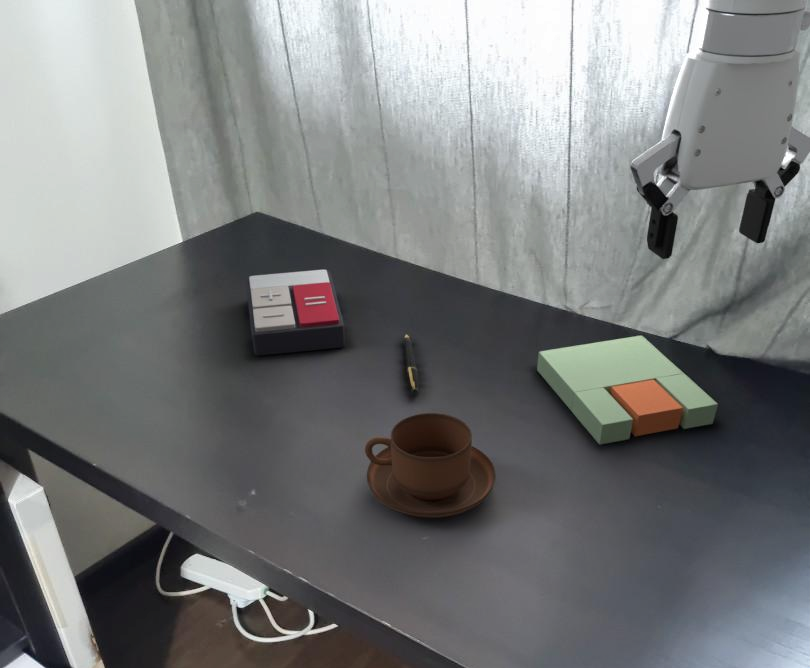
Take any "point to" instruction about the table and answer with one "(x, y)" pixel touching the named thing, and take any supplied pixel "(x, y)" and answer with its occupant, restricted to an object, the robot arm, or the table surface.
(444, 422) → the cup and saucer
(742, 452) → the table surface
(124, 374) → the table surface
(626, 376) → the base pad
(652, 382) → the orange block
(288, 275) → the calculator
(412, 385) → the fountain pen
